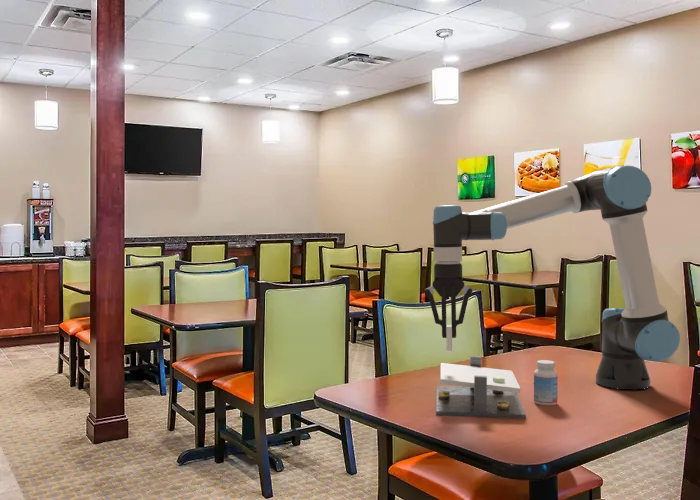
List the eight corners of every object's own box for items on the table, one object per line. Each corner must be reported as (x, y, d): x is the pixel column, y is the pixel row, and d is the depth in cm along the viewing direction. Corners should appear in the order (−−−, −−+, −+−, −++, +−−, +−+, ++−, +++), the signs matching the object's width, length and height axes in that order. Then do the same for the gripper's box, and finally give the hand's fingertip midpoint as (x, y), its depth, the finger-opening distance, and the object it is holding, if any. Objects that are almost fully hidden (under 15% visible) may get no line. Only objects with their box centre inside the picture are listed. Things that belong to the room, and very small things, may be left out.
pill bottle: (558, 407, 169) (559, 364, 168) (534, 405, 170) (535, 363, 169) (556, 400, 175) (556, 359, 174) (532, 399, 176) (533, 359, 175)
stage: (511, 374, 182) (511, 367, 182) (520, 394, 160) (521, 386, 160) (440, 366, 185) (441, 359, 185) (440, 384, 163) (440, 377, 163)
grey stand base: (514, 391, 184) (514, 357, 184) (525, 418, 158) (526, 378, 158) (437, 389, 187) (437, 355, 187) (436, 415, 162) (436, 375, 161)
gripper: (472, 261, 175) (473, 347, 176) (424, 262, 177) (425, 347, 178) (473, 263, 168) (474, 352, 169) (423, 263, 170) (424, 352, 171)
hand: (449, 349), depth 173 cm, fingers closed
